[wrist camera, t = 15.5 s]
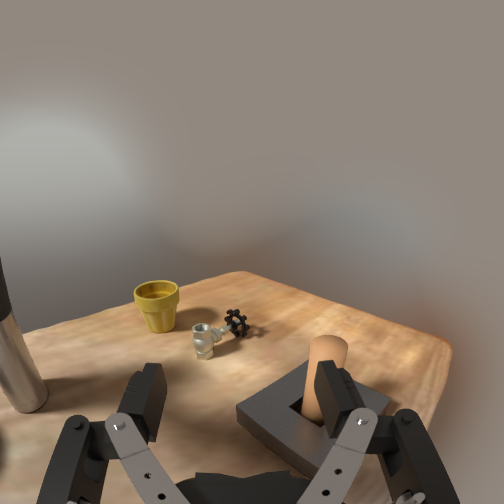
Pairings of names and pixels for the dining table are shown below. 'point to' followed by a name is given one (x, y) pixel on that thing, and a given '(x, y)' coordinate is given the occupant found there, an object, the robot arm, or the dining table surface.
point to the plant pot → (158, 304)
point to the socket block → (295, 420)
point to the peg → (319, 351)
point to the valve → (216, 334)
